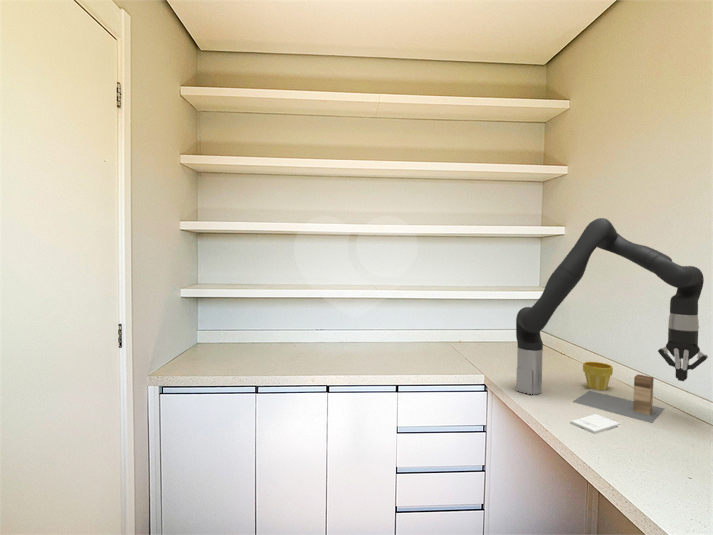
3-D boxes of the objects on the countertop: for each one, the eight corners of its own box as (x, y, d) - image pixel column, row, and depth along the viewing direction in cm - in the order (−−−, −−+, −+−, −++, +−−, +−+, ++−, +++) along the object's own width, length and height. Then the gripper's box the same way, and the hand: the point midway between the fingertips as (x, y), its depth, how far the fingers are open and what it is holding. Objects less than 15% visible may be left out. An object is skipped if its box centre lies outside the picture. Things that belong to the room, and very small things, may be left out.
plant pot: (581, 382, 169) (582, 359, 168) (609, 386, 164) (610, 363, 164) (583, 390, 160) (584, 366, 159) (613, 394, 155) (614, 369, 155)
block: (648, 415, 134) (650, 380, 133) (633, 411, 137) (634, 376, 137) (652, 411, 137) (653, 377, 136) (636, 407, 140) (637, 374, 140)
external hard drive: (619, 428, 127) (594, 435, 121) (594, 418, 134) (569, 425, 129) (619, 423, 127) (594, 430, 121) (594, 413, 134) (570, 420, 129)
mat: (652, 425, 128) (652, 423, 128) (572, 403, 146) (572, 401, 146) (664, 410, 140) (664, 408, 140) (589, 391, 158) (589, 390, 158)
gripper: (655, 326, 131) (653, 378, 132) (708, 332, 121) (706, 388, 122) (660, 323, 136) (658, 373, 137) (711, 329, 126) (710, 382, 127)
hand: (681, 380), depth 129 cm, fingers closed
